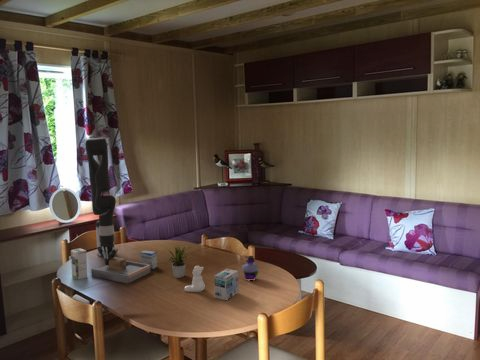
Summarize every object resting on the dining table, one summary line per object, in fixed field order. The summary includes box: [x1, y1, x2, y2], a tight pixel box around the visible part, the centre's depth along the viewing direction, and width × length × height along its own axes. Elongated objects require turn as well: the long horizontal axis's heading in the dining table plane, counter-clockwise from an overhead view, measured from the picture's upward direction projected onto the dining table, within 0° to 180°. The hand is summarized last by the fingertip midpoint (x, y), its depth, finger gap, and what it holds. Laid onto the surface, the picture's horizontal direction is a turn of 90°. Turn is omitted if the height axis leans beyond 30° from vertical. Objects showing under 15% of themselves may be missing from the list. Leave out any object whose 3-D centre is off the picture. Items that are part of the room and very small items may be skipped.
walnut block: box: [109, 256, 127, 271], centre depth 228 cm, size 5×7×5 cm
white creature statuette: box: [184, 265, 206, 293], centre depth 205 cm, size 10×9×12 cm
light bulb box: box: [214, 268, 240, 301], centre depth 198 cm, size 11×7×11 cm, turn 148°
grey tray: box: [90, 260, 152, 284], centre depth 228 cm, size 18×24×4 cm
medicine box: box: [139, 250, 158, 270], centre depth 238 cm, size 8×4×9 cm, turn 68°
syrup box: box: [70, 248, 88, 281], centre depth 222 cm, size 6×6×14 cm
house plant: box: [166, 245, 194, 279], centre depth 223 cm, size 14×14×16 cm
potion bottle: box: [241, 255, 260, 279], centre depth 218 cm, size 9×9×12 cm
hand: (108, 265), depth 231 cm, fingers closed
